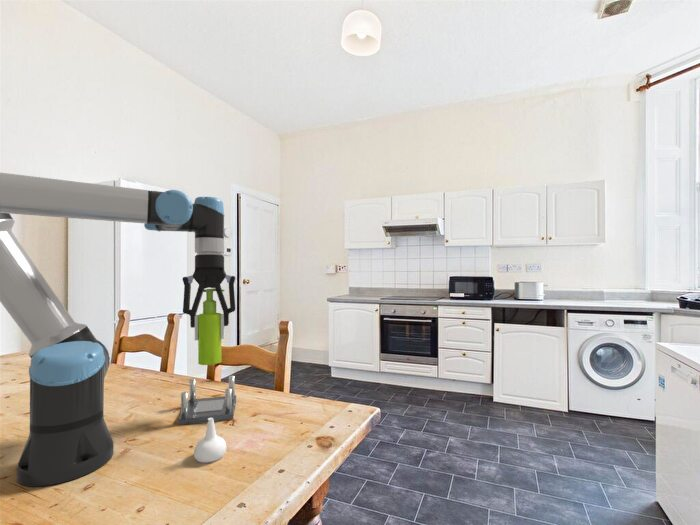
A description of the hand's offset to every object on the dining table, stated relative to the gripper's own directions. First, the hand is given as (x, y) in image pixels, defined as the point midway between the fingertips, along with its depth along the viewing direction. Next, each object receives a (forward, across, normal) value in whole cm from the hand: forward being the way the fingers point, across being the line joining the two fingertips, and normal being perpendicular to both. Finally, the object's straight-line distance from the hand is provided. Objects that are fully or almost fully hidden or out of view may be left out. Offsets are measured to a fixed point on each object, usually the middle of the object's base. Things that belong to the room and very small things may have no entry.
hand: (210, 338), depth 99 cm
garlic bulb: (+20, -3, +25) cm, 32 cm away
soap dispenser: (+7, 0, 0) cm, 7 cm away
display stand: (+20, 0, 0) cm, 20 cm away
